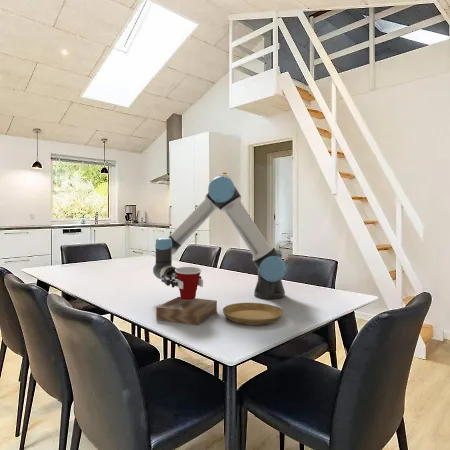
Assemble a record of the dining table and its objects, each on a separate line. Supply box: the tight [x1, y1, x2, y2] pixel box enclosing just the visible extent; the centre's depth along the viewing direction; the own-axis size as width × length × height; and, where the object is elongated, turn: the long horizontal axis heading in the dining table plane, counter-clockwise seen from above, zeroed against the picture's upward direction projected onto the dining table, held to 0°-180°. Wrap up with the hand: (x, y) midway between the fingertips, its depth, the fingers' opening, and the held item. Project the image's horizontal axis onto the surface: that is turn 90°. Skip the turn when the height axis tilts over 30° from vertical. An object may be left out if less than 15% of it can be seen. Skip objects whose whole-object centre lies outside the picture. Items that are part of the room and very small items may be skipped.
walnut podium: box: [155, 296, 218, 326], centre depth 148 cm, size 18×18×5 cm
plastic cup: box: [175, 266, 203, 300], centre depth 147 cm, size 11×11×12 cm
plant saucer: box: [222, 302, 284, 326], centre depth 146 cm, size 24×24×3 cm
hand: (192, 284), depth 143 cm, fingers closed on plastic cup, 8 cm apart
